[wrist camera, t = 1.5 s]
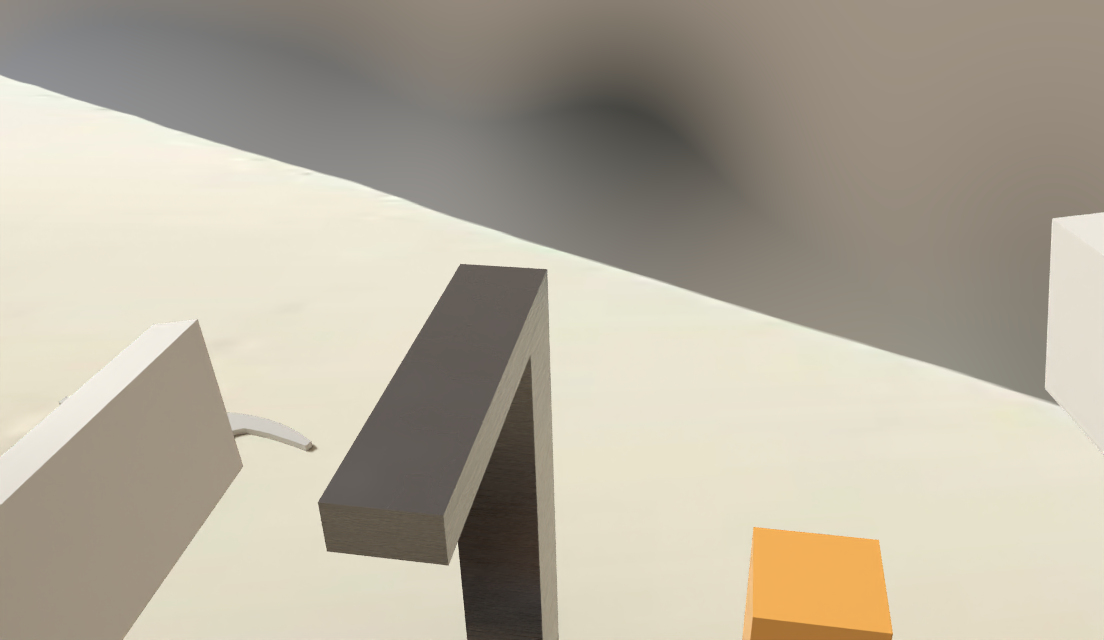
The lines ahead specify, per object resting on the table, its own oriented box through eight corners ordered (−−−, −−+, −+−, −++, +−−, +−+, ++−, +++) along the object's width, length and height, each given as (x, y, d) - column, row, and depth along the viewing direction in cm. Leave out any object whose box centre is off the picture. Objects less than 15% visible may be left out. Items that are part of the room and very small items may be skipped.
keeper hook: (401, 954, 32) (318, 502, 23) (491, 655, 43) (460, 264, 33) (490, 971, 31) (443, 515, 22) (559, 664, 42) (547, 269, 33)
